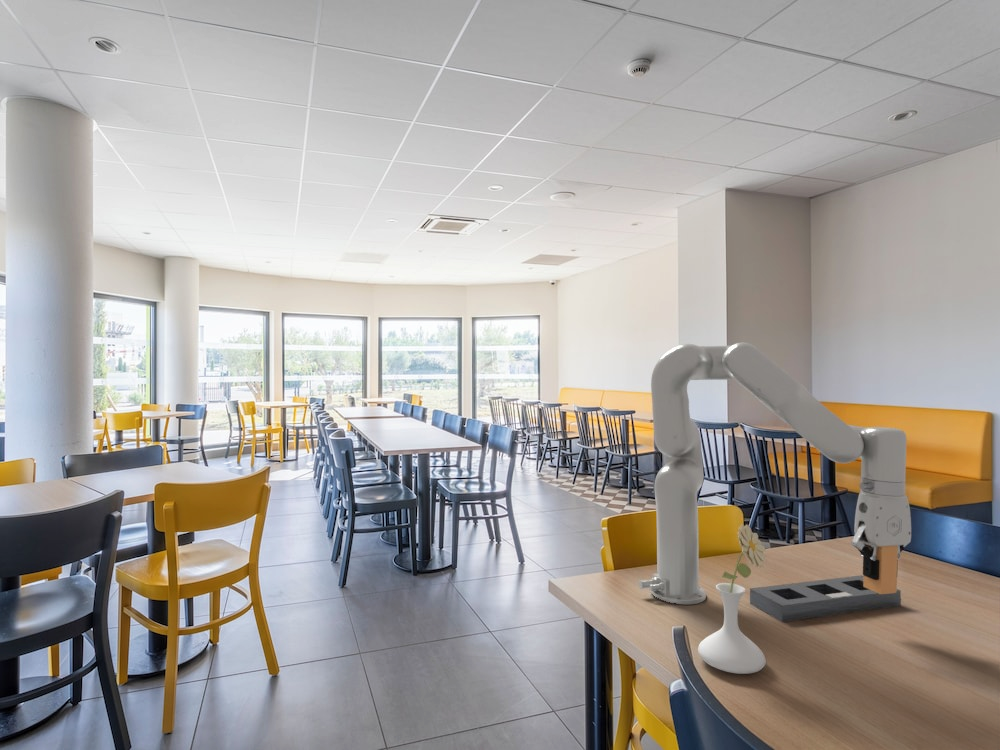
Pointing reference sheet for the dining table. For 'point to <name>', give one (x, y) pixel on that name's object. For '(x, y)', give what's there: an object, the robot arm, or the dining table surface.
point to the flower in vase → (735, 617)
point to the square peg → (884, 571)
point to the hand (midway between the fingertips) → (879, 575)
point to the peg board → (820, 598)
